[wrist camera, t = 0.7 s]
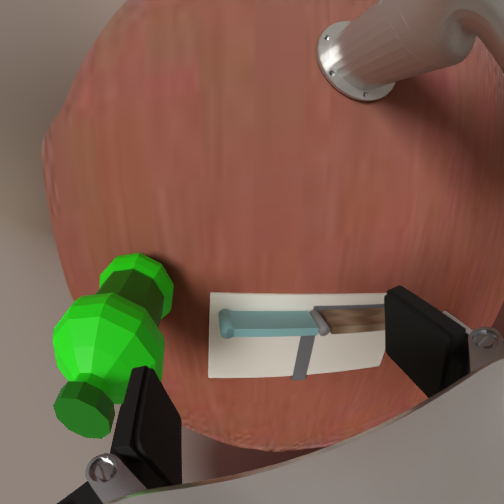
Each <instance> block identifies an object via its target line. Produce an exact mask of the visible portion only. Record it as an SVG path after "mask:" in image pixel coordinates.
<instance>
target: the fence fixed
mask: <svg viewBox="0 0 504 504" xmlns="http://www.w3.org/2000/svg"><path fill="white" fill-rule="evenodd" d="M320 315H321V317H322V318H323V319H324V321H325V322H326V324H327V325H328V326H329V328H330V333H331V334H346V333H360V332H371V331H382V330H385V310H384V307H381V308H360V309H330V310H321V311H320Z"/></svg>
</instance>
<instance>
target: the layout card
mask: <svg viewBox="0 0 504 504" xmlns="http://www.w3.org/2000/svg"><path fill="white" fill-rule="evenodd" d="M385 295H387V293H346V294H278V293H228V292H210V314H209V355H208V378H254V377H278V376H292V380H304V379H305V378H306V375H308V374H319V373H330V372H339V371H347V370H355V369H362V368H369V367H376V366H380V363H381V360H382V357H383V355H384V352H385V330H382V331H371V332H360V333H346V334H331V333H330V332H329V334H327V335H326V336H321V335H320V334H319V333H318V335H311V336H283V337H232V338H229V339H225V338H223V337H222V336H221V335H220V326H219V316H218V314H219V311H220V310H222V309H228V310H230V311H309V312H310V311H311V310H317V311H318V312H319V314H320V311H321V310H330V309H360V308H381V307H384V296H385Z"/></svg>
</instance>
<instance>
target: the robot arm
mask: <svg viewBox="0 0 504 504" xmlns="http://www.w3.org/2000/svg"><path fill="white" fill-rule="evenodd" d="M476 36H478V37H479V38H480V39H481V41H482V42H483V43H484V45H485V46H486V48H487V49H488V50H489V52H490V53H491V54H492V55H493V57H494V58H495V60H496V62H497V63H498V65H499V66H500V68H501V70H502V71H503V73H504V0H379V1H378V2H377V3H375V4H374V5H373V6H371V7H370V8H369V9H367V10H366V11H365V12H363V13H362V14H361V15H360V16H358V17H357V18H356V19H355V20H353V21H341V22H337V23H334V24H332V25H330V26H329V27H328V28H326V29H325V30H324V31H323V33H322V34H321V35H320V37H319V39H318V42H317V47H316V56H317V60H318V64H319V66H320V69H321V71H322V73H323V74H324V76H325V78H326V79H327V80H328V81H329V82H330V84H331V85H332V86H333V87H334V88H336V89H337V90H338V91H339V92H341V93H342V94H344V95H346V96H347V97H350V98H352V99H355V100H360V101H373V100H377V99H380V98H382V97H384V96H386V95H387V94H388V93H389V92H390V91H391V90H392V89H393V87H394V85H395V83H396V82H397V81H400V80H403V79H407V78H410V77H413V76H417V75H420V74H424V73H427V72H431V71H434V70H438V69H442V68H446V67H450V66H453V65H456V64H458V63H460V62H462V61H463V60H464V59H465V58H466V57H467V56H468V55H469V54H470V52H471V50H472V48H473V45H474V42H475V38H476ZM325 39H326V40H325ZM329 73H330V74H331V75H330V74H329ZM363 95H364V96H363ZM384 310H385V349H386V352H387V354H388V356H389V357H390V358H391V359H392V360H393V361H394V362H395V363H396V364H397V365H398V366H399V367H400V368H401V369H402V370H403V371H404V372H405V373H406V374H407V375H408V376H409V378H410V379H411V380H412V381H413V382H414V383H415V384H416V385H417V386H418V387H419V388H420V389H421V390H422V391H423V392H424V393H425V394H426V396H427V397H428V398H429V399H427V400H425V401H423V402H422V403H420V404H418V405H416V406H415V407H413V408H411V409H409V410H407V411H406V412H404V413H402V414H400V415H398V416H396V417H394V418H392V419H390V420H388V421H386V422H384V423H382V424H380V425H378V426H376V427H374V428H371V429H369V430H367V431H365V432H363V433H360V434H358V435H356V436H354V437H351V438H349V439H346V440H344V441H342V442H339V443H337V444H334V445H331V446H329V447H326V448H324V449H321V450H318V451H316V452H312V453H310V454H307V455H304V456H301V457H298V458H295V459H291V460H288V461H285V462H282V463H279V464H275V465H271V466H268V467H264V468H260V469H256V470H252V471H249V472H244V473H240V474H235V475H231V476H226V477H221V478H215V479H211V480H205V481H199V482H194V483H187V484H182V459H181V458H182V457H181V418H180V415H179V413H178V411H177V410H176V408H175V406H174V405H173V403H172V401H171V399H170V398H169V396H168V394H167V392H166V391H165V389H164V387H163V385H162V383H161V382H160V380H159V378H158V376H157V374H156V372H155V371H154V369H153V368H149V367H148V366H146V365H145V366H141V367H136V368H133V369H132V371H131V375H130V378H129V382H128V386H127V390H126V394H125V398H124V402H123V404H122V405H121V407H120V411H119V415H118V419H117V423H116V428H115V432H114V437H113V441H112V446H111V451H110V453H104V454H100V455H98V456H96V457H94V458H93V459H92V460H91V461H90V462H89V463H88V465H87V467H86V470H85V476H86V478H87V480H88V481H87V482H86V483H84V484H83V485H82V486H80V487H79V488H78V489H76V490H75V491H74V492H72V493H71V494H70V495H68V496H67V497H66V498H65V499H63V500H61V501H60V502H59V503H57V504H504V341H503V338H502V335H501V334H500V333H499V332H498V331H497V330H495V329H493V328H490V327H480V328H477V329H474V330H473V331H472V332H471V333H470V334H467V333H466V328H464V327H463V326H461V325H460V324H458V323H457V322H455V321H454V320H452V319H451V318H450V317H448V316H447V315H445V314H444V313H442V312H441V311H439V310H438V309H436V308H435V307H433V306H432V305H430V304H429V303H427V302H426V301H424V300H422V299H421V298H419V297H418V296H416V295H415V294H413V293H412V292H410V291H409V290H407V289H405V288H404V287H402V286H397V287H395V288H392V289H390V290H388V291H387V295H385V296H384Z"/></svg>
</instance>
